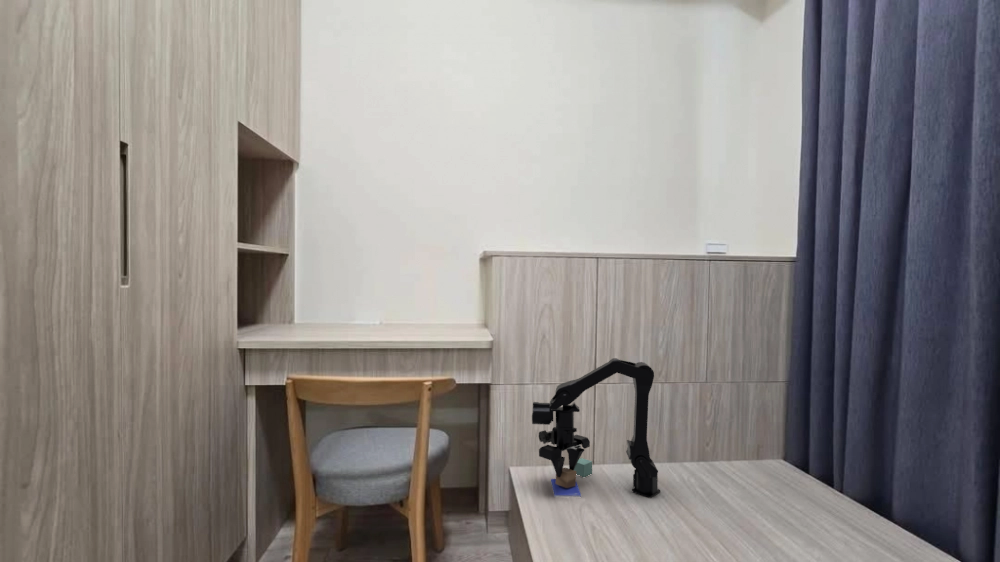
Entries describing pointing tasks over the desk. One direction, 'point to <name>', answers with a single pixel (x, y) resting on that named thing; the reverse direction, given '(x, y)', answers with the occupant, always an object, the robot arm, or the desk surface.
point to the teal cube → (583, 467)
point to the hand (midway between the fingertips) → (565, 474)
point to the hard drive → (565, 490)
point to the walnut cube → (566, 478)
